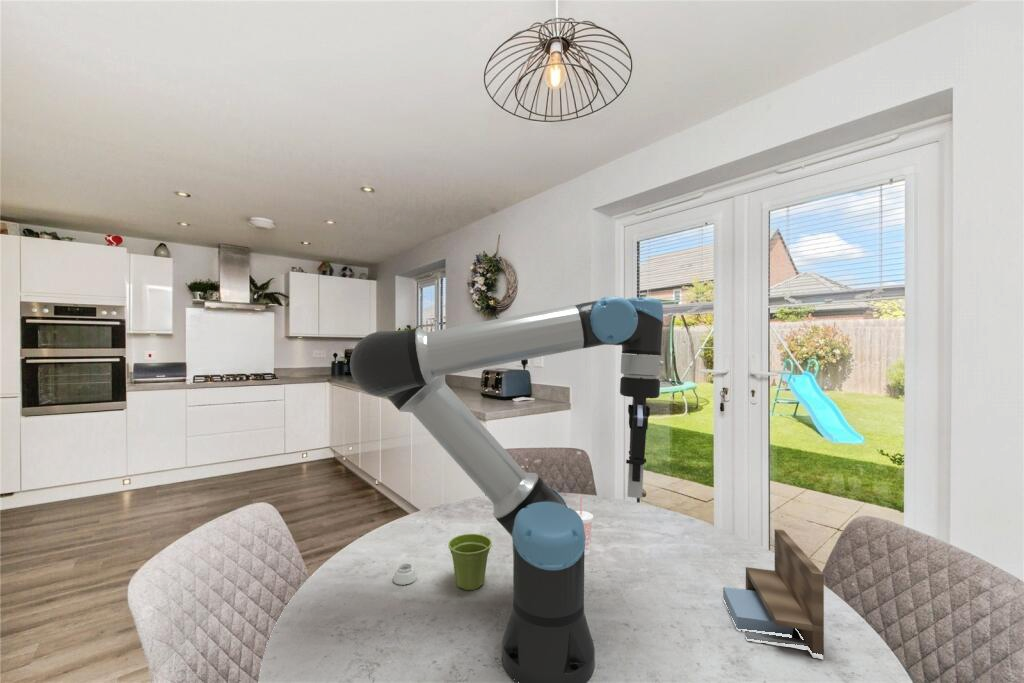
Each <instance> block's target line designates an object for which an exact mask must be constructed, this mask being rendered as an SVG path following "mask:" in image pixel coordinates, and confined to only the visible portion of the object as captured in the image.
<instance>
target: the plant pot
mask: <svg viewBox="0 0 1024 683" xmlns="http://www.w3.org/2000/svg"><path fill="white" fill-rule="evenodd" d="M492 544H493V541H492V539H491V538H490V537H488V536H487V535H483V534H480V533H465V534H460V535H459V534H458V535H457V536H454V537H452V538H451V539H450V540H449V541H448V544H447V546H448V549H449V550H450V554H451V556H452V562H453V570H454V580H455V585H456V587H457V588H461V589H463V590H464V591H472V590H477V589H479V588H480V587H481V586H482V585H484V584H485V578H486V569H487V564H488V558H489V557H488V555H489V554H490V550H491V547H492Z"/></svg>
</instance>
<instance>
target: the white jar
mask: <svg viewBox="0 0 1024 683" xmlns="http://www.w3.org/2000/svg"><path fill="white" fill-rule="evenodd" d="M417 578H418V574H417V572H416V570H415V568H414V567H413V565H412V563H406V562H405V563H401V564H400V565H398V567H397V569H396V570H395V573H394V575H393V578H392V581H393V582H394V584H397V585H400V586H401V585H402V586H405V585H406V584H407V585H410V584H413V583H414V582H415V581H416V580H417Z"/></svg>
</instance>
